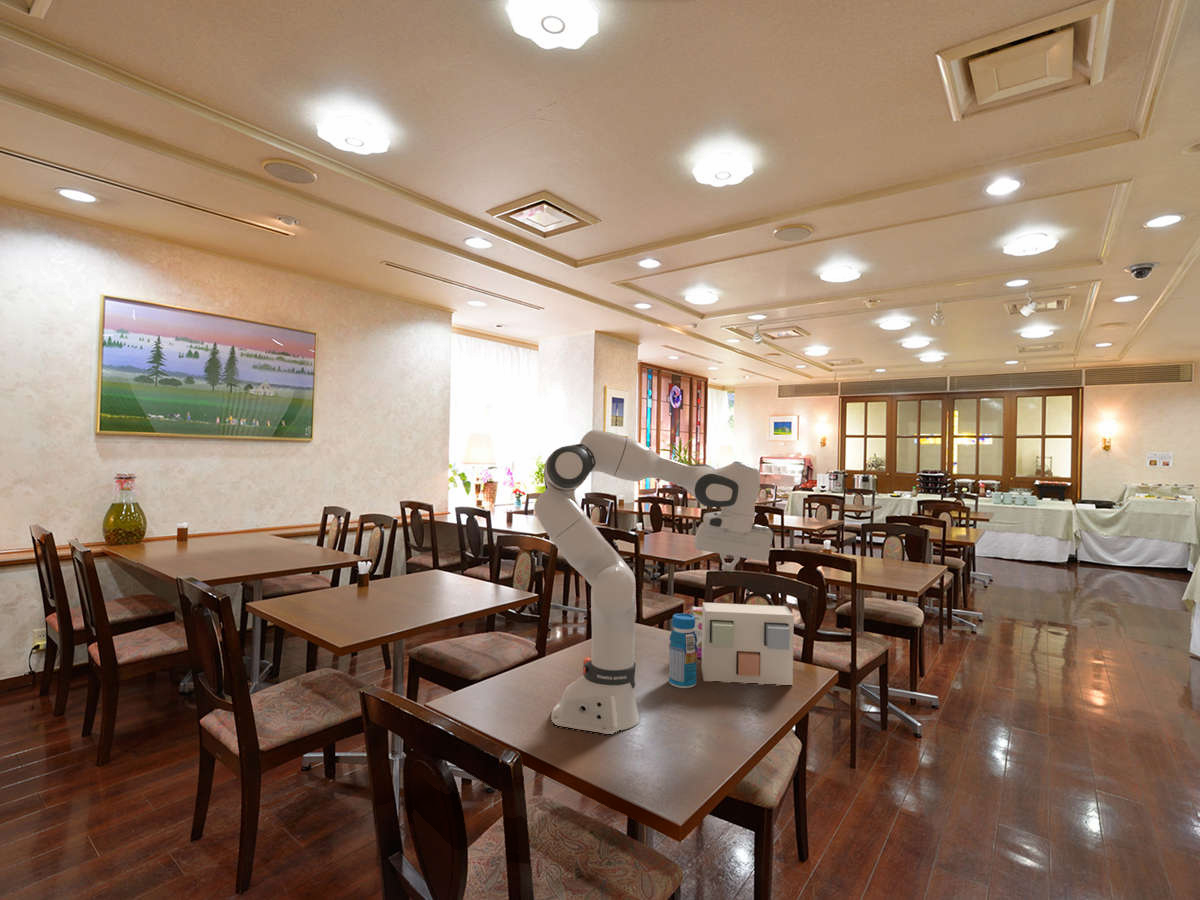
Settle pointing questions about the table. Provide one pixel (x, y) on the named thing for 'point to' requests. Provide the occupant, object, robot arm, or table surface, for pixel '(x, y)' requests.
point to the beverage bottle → (683, 652)
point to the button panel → (746, 643)
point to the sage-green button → (722, 633)
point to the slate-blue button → (777, 636)
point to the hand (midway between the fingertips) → (727, 570)
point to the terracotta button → (747, 663)
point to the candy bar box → (698, 628)
